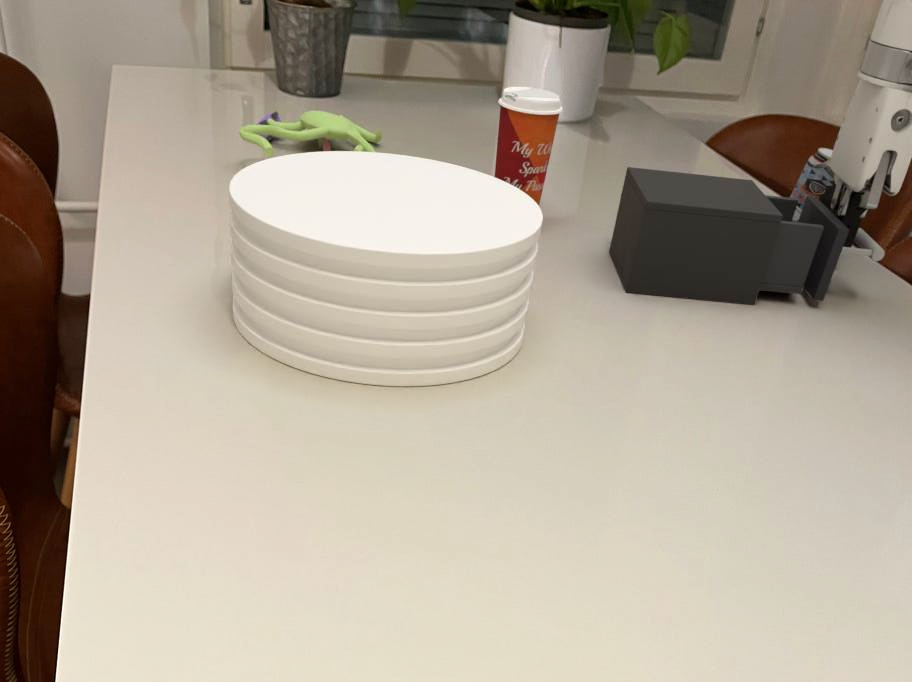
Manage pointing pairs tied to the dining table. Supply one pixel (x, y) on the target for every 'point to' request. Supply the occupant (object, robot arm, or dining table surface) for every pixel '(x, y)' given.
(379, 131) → the figurine
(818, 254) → the dark grey panel
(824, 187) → the beverage can
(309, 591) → the dining table surface
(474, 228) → the plate stack
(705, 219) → the dark grey box
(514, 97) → the paper cup
